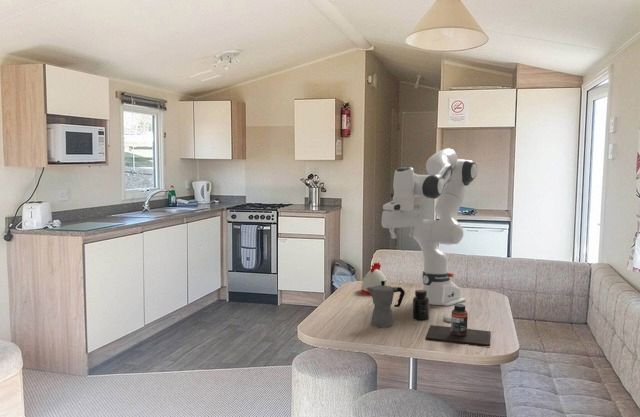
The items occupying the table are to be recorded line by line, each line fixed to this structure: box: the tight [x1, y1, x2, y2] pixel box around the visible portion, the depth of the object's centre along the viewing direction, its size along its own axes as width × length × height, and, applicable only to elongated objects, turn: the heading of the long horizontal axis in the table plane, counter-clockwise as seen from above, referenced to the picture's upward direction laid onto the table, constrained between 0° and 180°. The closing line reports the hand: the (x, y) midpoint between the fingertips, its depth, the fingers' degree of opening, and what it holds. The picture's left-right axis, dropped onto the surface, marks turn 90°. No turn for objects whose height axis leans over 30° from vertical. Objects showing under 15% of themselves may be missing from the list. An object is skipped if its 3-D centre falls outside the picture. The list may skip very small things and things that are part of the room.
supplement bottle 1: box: [412, 289, 430, 322], centre depth 227 cm, size 7×7×12 cm
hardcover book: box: [425, 324, 492, 347], centre depth 205 cm, size 16×23×2 cm
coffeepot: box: [367, 281, 406, 328], centre depth 219 cm, size 15×9×18 cm, turn 82°
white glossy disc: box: [443, 314, 452, 323], centre depth 226 cm, size 8×8×1 cm
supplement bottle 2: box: [450, 303, 469, 336], centre depth 204 cm, size 6×6×11 cm
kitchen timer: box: [361, 262, 389, 296], centre depth 274 cm, size 14×14×15 cm
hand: (402, 237), depth 228 cm, fingers open, 8 cm apart
